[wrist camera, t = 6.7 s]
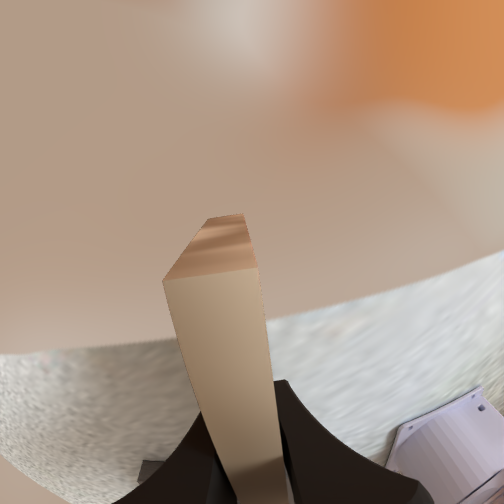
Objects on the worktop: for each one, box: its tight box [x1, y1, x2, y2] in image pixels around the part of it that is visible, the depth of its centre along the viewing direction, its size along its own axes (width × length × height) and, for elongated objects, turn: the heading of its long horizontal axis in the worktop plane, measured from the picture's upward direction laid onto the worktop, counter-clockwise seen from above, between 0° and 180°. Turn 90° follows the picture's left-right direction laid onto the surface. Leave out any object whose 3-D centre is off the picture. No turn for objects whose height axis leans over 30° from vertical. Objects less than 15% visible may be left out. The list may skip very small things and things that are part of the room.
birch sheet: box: [163, 214, 289, 504], centre depth 10 cm, size 2×14×8 cm, turn 8°
